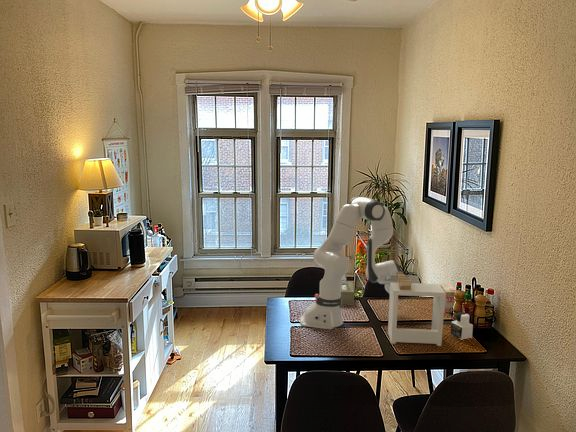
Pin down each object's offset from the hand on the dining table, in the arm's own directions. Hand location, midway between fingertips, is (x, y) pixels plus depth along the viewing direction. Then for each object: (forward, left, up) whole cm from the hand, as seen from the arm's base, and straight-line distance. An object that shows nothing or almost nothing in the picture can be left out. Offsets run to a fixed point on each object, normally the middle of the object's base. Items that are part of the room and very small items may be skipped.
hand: (400, 276), depth 224 cm
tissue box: (-25, +39, -28) cm, 54 cm away
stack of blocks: (+32, +35, -28) cm, 55 cm away
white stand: (+6, -12, -27) cm, 30 cm away
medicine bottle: (+29, -7, -28) cm, 41 cm away
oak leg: (0, -6, -1) cm, 7 cm away
